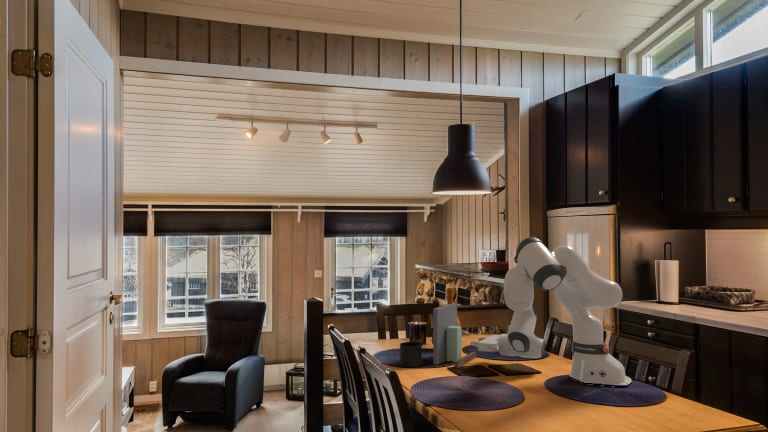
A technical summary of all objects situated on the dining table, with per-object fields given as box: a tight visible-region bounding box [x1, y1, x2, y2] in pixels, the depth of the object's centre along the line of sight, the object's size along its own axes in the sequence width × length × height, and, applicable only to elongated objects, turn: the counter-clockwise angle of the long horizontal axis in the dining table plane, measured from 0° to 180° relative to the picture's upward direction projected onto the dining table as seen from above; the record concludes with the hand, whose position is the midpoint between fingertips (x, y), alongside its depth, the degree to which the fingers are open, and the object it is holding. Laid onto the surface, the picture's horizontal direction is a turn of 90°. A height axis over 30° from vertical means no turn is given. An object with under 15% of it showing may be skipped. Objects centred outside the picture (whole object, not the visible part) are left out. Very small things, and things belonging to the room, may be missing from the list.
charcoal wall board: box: [432, 302, 477, 368], centre depth 237 cm, size 12×22×24 cm, turn 150°
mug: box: [399, 341, 423, 368], centre depth 230 cm, size 9×12×9 cm
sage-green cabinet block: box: [446, 325, 462, 363], centre depth 237 cm, size 5×5×15 cm
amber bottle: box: [446, 287, 461, 327], centre depth 262 cm, size 10×10×30 cm
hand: (475, 341), depth 232 cm, fingers open, 8 cm apart
